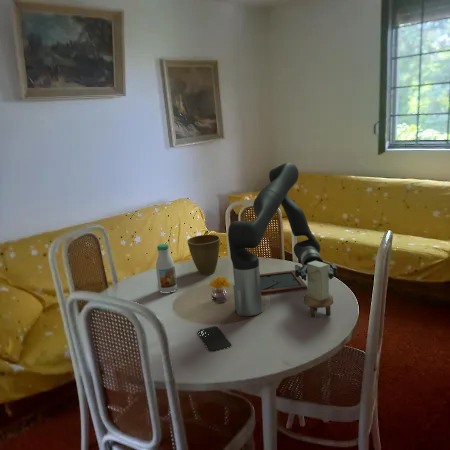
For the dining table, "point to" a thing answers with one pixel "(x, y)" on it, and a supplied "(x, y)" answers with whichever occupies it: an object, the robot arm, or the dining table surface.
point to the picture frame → (280, 282)
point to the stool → (318, 304)
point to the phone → (214, 338)
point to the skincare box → (318, 280)
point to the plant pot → (204, 252)
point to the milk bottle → (165, 270)
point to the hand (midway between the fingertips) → (318, 277)
